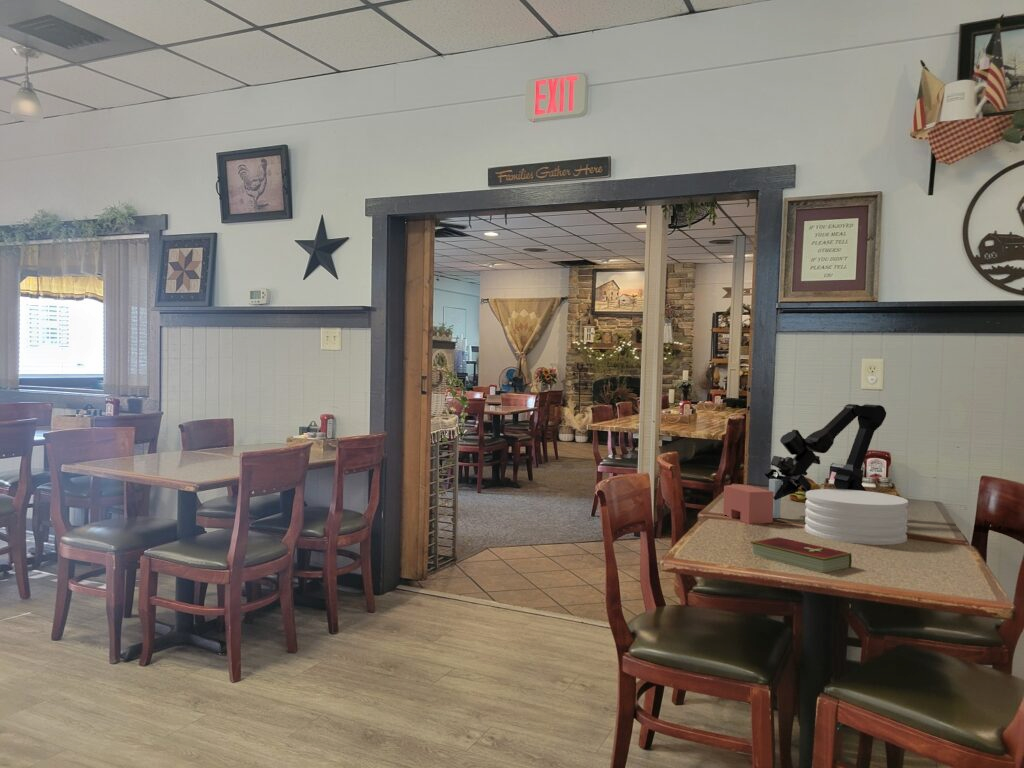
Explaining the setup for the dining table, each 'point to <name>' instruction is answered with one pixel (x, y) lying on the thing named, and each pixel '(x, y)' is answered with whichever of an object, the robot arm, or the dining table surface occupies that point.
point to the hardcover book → (802, 554)
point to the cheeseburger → (801, 495)
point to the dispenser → (748, 503)
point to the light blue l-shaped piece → (774, 486)
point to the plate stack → (856, 516)
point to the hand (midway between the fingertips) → (771, 498)
